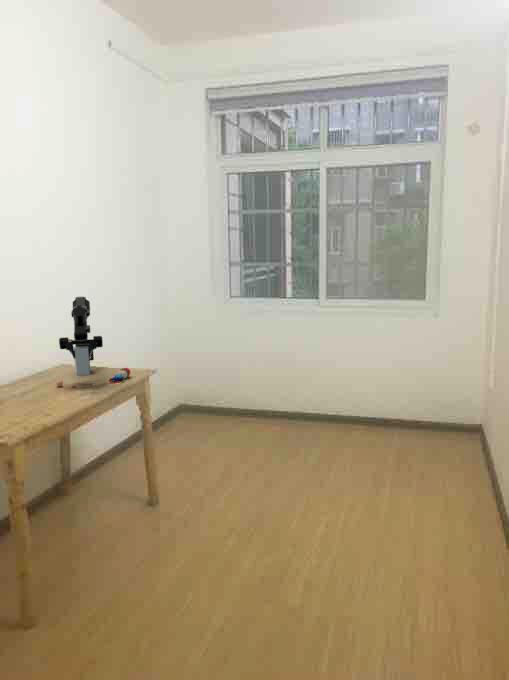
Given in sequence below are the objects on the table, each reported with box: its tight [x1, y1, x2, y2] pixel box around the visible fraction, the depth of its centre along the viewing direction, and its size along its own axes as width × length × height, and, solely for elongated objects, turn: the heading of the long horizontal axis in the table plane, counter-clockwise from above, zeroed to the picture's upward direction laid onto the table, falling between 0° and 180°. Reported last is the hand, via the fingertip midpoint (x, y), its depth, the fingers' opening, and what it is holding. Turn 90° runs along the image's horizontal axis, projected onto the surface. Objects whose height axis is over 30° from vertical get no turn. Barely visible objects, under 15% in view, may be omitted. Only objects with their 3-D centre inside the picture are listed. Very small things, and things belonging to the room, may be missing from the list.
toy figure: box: [107, 367, 131, 384], centre depth 261 cm, size 8×5×15 cm
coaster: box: [72, 381, 94, 388], centre depth 251 cm, size 9×9×1 cm
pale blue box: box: [73, 346, 91, 376], centre depth 249 cm, size 5×6×12 cm
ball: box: [55, 379, 64, 388], centre depth 248 cm, size 3×3×3 cm
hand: (81, 357), depth 247 cm, fingers closed on pale blue box, 6 cm apart
